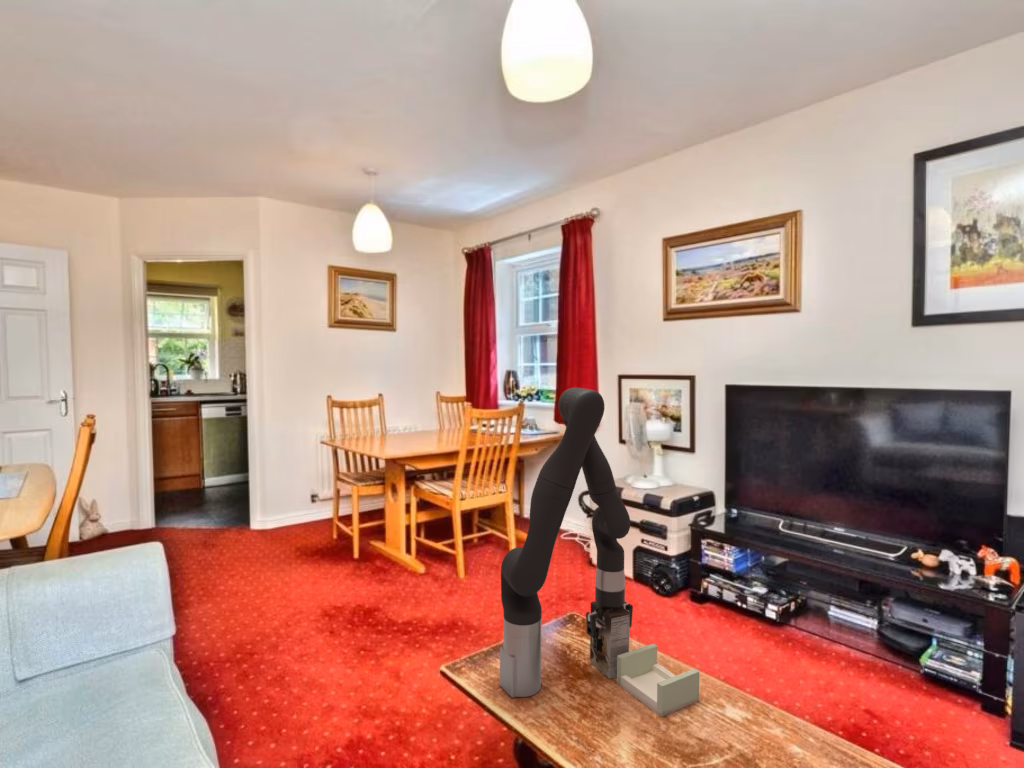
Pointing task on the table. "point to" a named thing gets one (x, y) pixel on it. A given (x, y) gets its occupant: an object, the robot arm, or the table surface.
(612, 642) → the coffee box
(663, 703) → the caddy
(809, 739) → the table surface
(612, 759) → the table surface
